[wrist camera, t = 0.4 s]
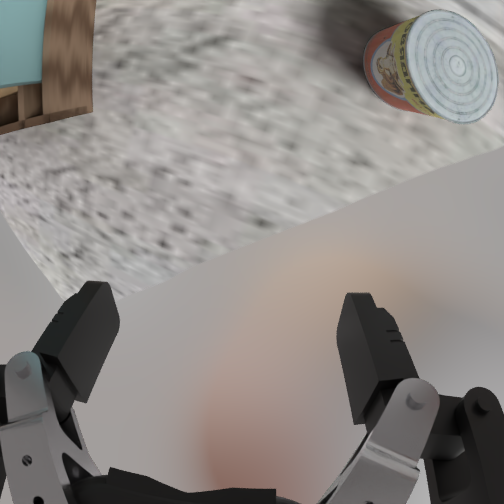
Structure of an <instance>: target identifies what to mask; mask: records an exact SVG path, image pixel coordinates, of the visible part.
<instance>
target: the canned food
mask: <svg viewBox="0 0 504 504" xmlns="http://www.w3.org/2000/svg"><path fill="white" fill-rule="evenodd" d="M363 67H364V72H365V75H366V78H367V81H368V83H369V85H370V87H371V88H372V90H373V91H374V92H375V94H376V95H377V96H378V97H379V98H380V99H381V100H382V101H384V102H385V103H386V104H388V105H389V106H391V107H393V108H396V109H399V110H403V111H411V112H416V113H420V114H425V115H429V116H433V117H438V118H442V119H445V120H448V121H450V122H453V123H457V124H471V123H474V122H477V121H479V120H481V119H482V118H483V117H485V116H486V115H487V114H488V112H489V111H490V110H491V108H492V106H493V105H494V102H495V100H496V97H497V92H498V84H499V78H498V69H497V64H496V60H495V57H494V54H493V52H492V50H491V48H490V46H489V44H488V42H487V40H486V39H485V37H484V36H483V35H482V33H481V32H480V31H479V30H478V29H477V28H476V27H475V26H474V25H473V24H472V23H471V22H470V21H468V20H467V19H466V18H464V17H462V16H461V15H459V14H457V13H454V12H451V11H447V10H431V11H428V12H426V13H423V14H422V15H420V16H417V17H415V18H412V19H409V20H407V21H404V22H402V23H399V24H397V25H394V26H392V27H389V28H386V29H383V30H381V31H379V32H377V33H376V34H374V35H373V36H372V37H371V39H370V40H369V41H368V43H367V45H366V47H365V50H364V55H363Z"/></svg>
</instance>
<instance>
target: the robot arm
mask: <svg viewBox="0 0 504 504" xmlns="http://www.w3.org/2000/svg"><path fill="white" fill-rule="evenodd" d="M119 326H120V319H119V314H118V311H117V307H116V304H115V301H114V297H113V294H112V290H111V287H110V285H109V283H108V282H101V281H87V282H86V283H85V284H84V285H83V287H82V288H81V289H80V291H79V292H78V294H77V293H75V294H74V295H73V296H71V297H70V298H69V299H67V300H66V301H65V302H64V303H63V305H62V306H61V308H60V309H59V310H58V314H56V315H55V316H54V318H53V319H52V322H50V323H49V325H48V326H47V328H46V330H45V331H44V332H43V334H42V336H41V337H40V339H39V340H38V342H37V343H36V345H35V346H34V348H33V350H32V351H31V352H28V351H26V352H21V353H18V354H17V355H15V356H14V357H12V358H11V359H10V361H9V362H8V363H7V364H6V365H0V497H1V493H2V490H3V486H4V482H5V479H6V476H7V479H8V484H9V488H10V492H11V496H12V500H13V503H14V504H299V503H297V502H295V501H293V500H290V499H286V498H283V497H278V496H276V489H248V488H247V489H246V488H228V489H221V490H213V491H205V492H195V493H187V492H183V491H180V490H178V489H175V488H173V487H170V486H168V485H165V484H163V483H161V482H158V481H156V480H154V479H152V478H150V477H147V476H144V475H139V474H135V473H131V472H127V471H123V470H119V469H115V468H111V467H110V469H109V472H108V475H101V473H100V471H99V469H98V467H97V466H96V464H95V463H94V462H93V460H92V458H91V457H90V455H89V453H88V450H87V447H86V445H85V442H84V439H83V436H82V433H81V430H80V428H79V424H78V421H77V418H76V415H75V411H74V409H73V408H72V405H73V403H74V400H76V401H80V402H84V403H87V401H88V398H89V396H90V393H91V391H92V388H93V386H94V384H95V382H96V379H97V377H98V375H99V373H100V370H101V368H102V366H103V363H104V361H105V359H106V357H107V355H108V352H109V350H110V348H111V346H112V344H113V342H114V339H115V337H116V335H117V333H118V331H119ZM337 346H338V350H339V355H340V359H341V364H342V368H343V373H344V378H345V382H346V387H347V392H348V397H349V402H350V407H351V412H352V417H353V422H354V425H358V424H365V425H366V430H367V432H366V434H365V435H364V437H363V439H362V440H361V442H360V444H359V445H358V447H357V448H356V450H355V452H354V453H353V455H352V456H351V458H350V459H349V461H348V462H347V464H346V465H345V467H344V468H343V470H342V471H341V473H340V474H339V476H338V477H337V479H336V480H335V481H334V483H333V484H332V485H331V486H330V487H329V489H328V490H327V491H326V493H325V494H324V495H323V496H322V498H321V499H320V500H319V501H318V503H317V504H406V502H407V500H408V498H409V497H410V495H411V493H412V491H413V488H414V486H415V484H416V482H417V480H418V477H419V472H420V470H419V469H418V468H417V463H418V461H419V459H420V458H422V459H424V464H425V470H426V475H427V481H428V488H429V494H430V501H431V504H504V414H503V411H502V408H501V406H500V403H499V401H498V399H497V397H496V396H495V395H494V394H493V393H492V392H491V391H490V390H488V389H486V388H483V387H475V388H472V389H470V390H469V391H468V392H467V393H466V395H465V396H464V397H463V398H460V397H452V396H444V395H439V394H438V392H437V391H436V389H435V388H434V387H433V386H432V385H431V384H430V383H429V382H427V381H425V380H422V379H420V378H419V376H418V374H417V371H416V369H415V366H414V364H413V361H412V359H411V356H410V354H409V352H408V349H407V347H406V345H405V342H403V338H402V335H401V333H400V332H399V328H398V326H397V324H396V322H395V319H394V318H393V317H392V316H391V315H390V314H389V313H388V312H387V311H386V310H385V309H384V308H377V307H376V305H375V303H374V300H373V298H372V296H371V294H370V293H347V294H346V296H345V300H344V304H343V308H342V311H341V315H340V319H339V323H338V327H337Z"/></svg>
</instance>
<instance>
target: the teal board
mask: <svg viewBox="0 0 504 504" xmlns="http://www.w3.org/2000/svg"><path fill="white" fill-rule="evenodd" d="M46 8H47V0H0V88H6V87H13V86H20V85H28V84H37V83H42V56H43V38H44V25H45V16H46Z"/></svg>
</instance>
